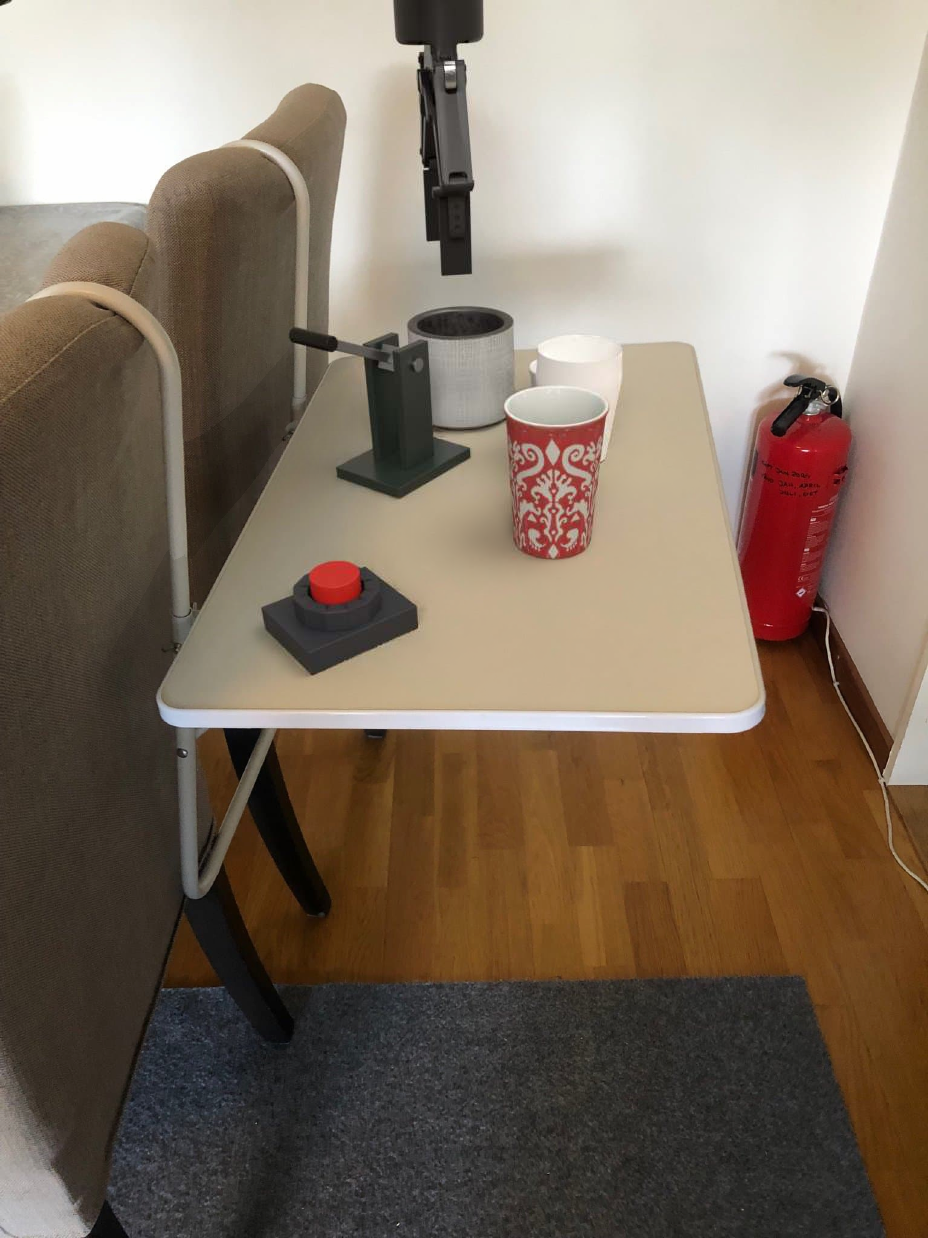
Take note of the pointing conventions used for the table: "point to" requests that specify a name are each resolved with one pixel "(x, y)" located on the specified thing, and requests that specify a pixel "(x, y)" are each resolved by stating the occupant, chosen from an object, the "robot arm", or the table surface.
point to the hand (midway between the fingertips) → (447, 256)
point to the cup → (583, 369)
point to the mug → (554, 467)
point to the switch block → (338, 622)
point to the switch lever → (342, 346)
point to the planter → (467, 364)
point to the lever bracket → (401, 425)
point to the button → (335, 582)
